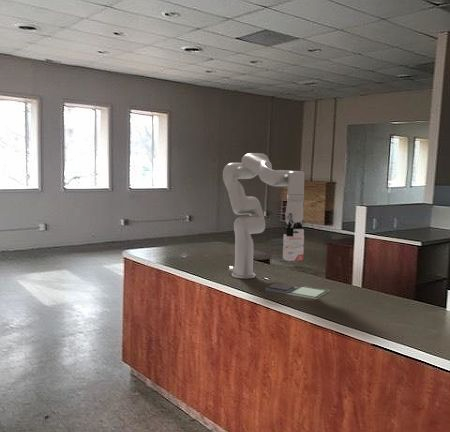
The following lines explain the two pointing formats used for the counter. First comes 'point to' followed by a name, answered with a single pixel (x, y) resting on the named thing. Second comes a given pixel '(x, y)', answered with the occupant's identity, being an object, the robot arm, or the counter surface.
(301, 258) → the ink cartridge box
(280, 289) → the ink pad
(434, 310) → the counter surface
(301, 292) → the marked card
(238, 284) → the counter surface
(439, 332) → the counter surface
